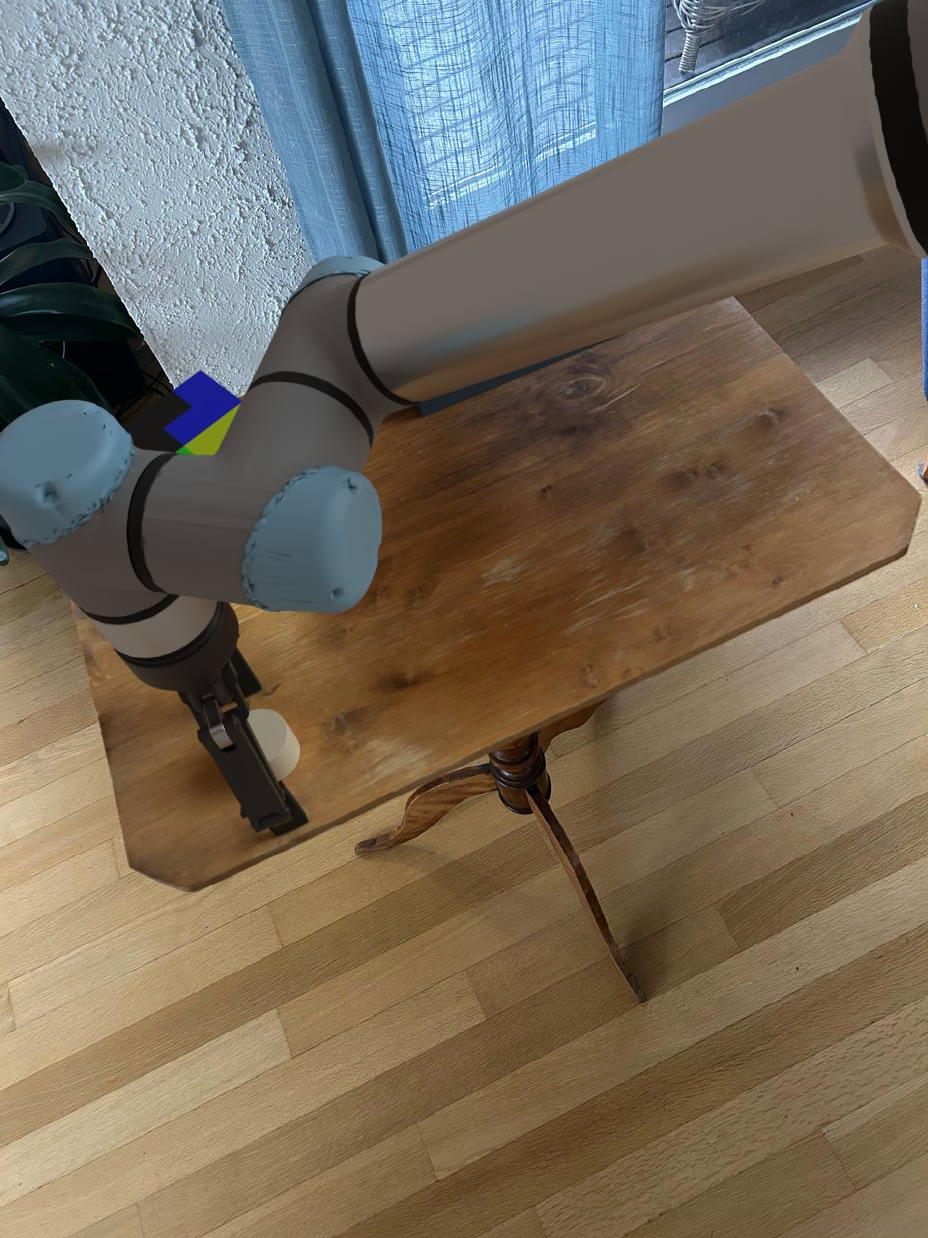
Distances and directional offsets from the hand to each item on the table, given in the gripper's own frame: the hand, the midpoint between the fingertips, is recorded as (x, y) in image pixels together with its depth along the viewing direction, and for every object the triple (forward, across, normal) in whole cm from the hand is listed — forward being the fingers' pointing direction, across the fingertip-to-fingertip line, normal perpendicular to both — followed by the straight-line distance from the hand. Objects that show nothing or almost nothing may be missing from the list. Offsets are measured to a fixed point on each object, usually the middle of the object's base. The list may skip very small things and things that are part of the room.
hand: (267, 756), depth 80 cm
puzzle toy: (0, -28, +4) cm, 29 cm away
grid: (0, -32, +36) cm, 49 cm away
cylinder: (0, 0, 0) cm, 0 cm away
